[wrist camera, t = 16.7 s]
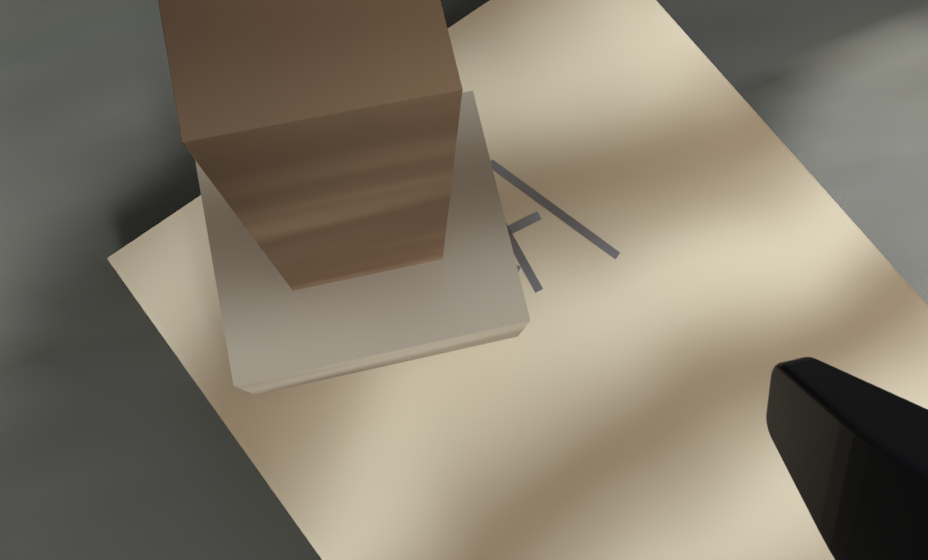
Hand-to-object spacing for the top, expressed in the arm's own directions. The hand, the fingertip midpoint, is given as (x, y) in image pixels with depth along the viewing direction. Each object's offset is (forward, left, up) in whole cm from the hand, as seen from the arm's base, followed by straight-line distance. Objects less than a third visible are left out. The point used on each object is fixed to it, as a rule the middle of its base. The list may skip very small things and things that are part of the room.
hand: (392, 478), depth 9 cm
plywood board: (-4, -5, -13) cm, 15 cm away
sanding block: (+5, -2, -12) cm, 13 cm away
